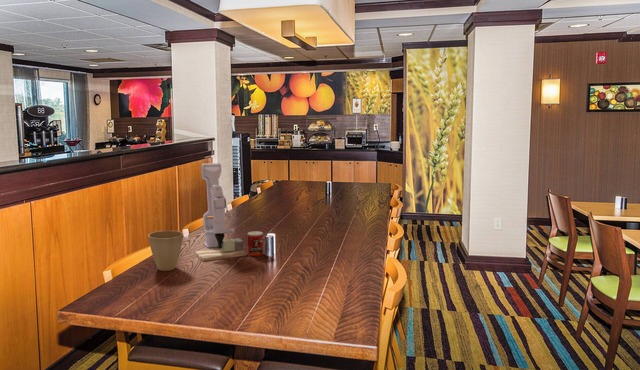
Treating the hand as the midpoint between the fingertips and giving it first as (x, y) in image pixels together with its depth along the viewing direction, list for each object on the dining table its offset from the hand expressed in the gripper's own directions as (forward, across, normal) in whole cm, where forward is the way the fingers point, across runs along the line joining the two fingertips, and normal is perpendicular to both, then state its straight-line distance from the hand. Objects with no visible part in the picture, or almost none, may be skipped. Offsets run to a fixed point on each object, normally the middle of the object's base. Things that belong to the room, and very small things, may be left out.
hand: (219, 248), depth 247 cm
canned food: (+4, +16, -7) cm, 18 cm away
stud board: (+3, 0, 0) cm, 3 cm away
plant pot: (+4, -28, -11) cm, 30 cm away
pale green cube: (+1, +4, 0) cm, 4 cm away
